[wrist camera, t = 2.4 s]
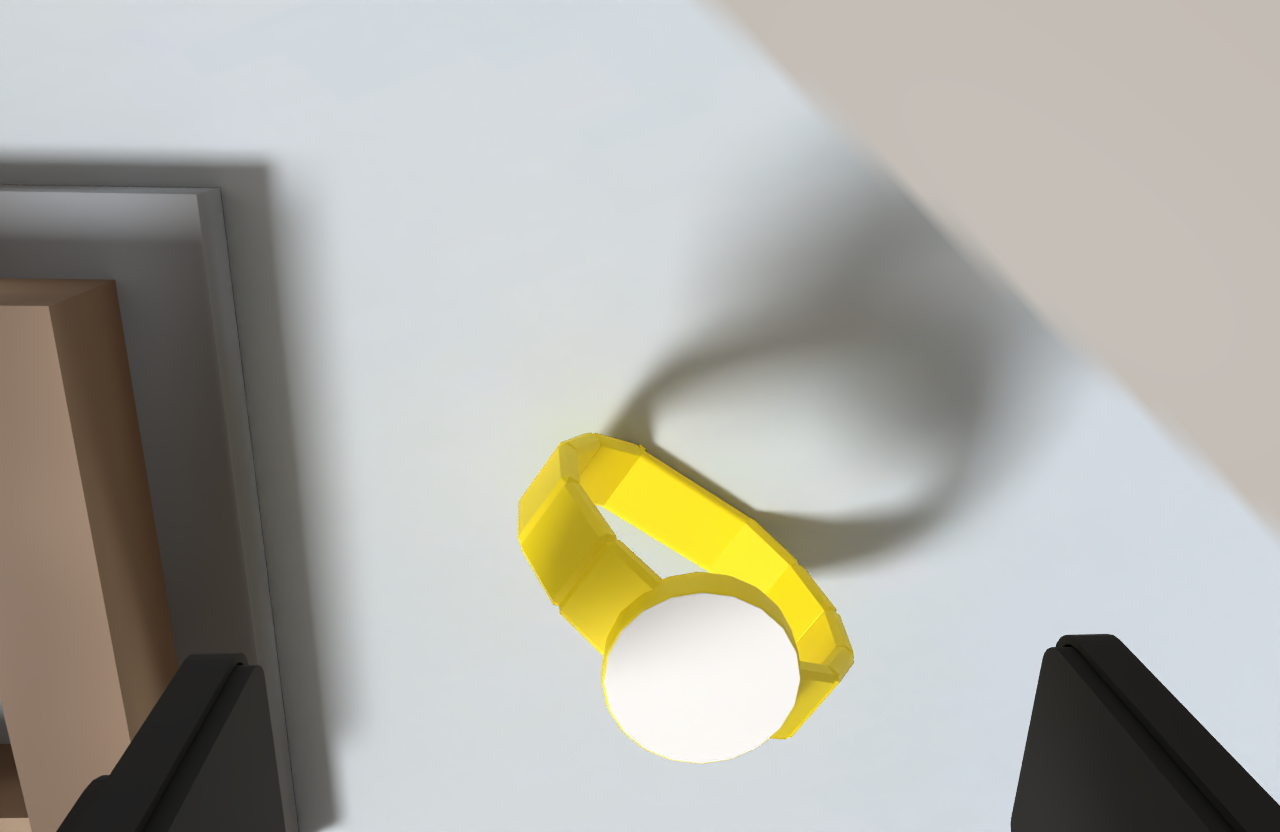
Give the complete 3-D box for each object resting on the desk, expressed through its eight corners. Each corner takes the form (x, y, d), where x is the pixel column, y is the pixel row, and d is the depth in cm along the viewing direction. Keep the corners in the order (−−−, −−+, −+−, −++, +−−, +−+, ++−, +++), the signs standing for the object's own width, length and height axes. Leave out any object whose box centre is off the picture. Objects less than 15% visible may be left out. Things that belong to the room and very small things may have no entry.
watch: (516, 481, 19) (452, 637, 13) (595, 369, 18) (565, 482, 12) (760, 639, 19) (802, 850, 14) (845, 538, 19) (926, 716, 13)
